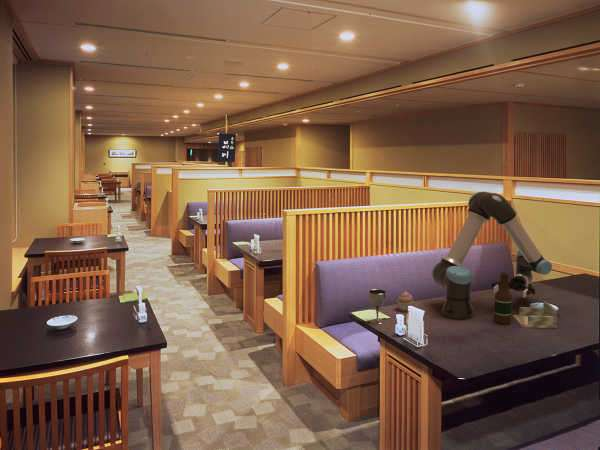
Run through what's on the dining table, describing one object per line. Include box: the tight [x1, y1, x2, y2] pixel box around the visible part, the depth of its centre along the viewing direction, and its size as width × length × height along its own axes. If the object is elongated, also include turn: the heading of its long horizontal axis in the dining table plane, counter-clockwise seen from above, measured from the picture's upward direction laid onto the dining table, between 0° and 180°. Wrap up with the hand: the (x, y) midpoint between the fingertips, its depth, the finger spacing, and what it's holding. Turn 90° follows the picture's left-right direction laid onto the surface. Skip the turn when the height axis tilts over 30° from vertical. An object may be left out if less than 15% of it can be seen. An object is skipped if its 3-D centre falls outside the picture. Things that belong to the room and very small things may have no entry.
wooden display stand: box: [512, 301, 558, 329], centre depth 223 cm, size 15×14×8 cm
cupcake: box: [396, 290, 416, 313], centre depth 245 cm, size 9×9×10 cm
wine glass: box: [368, 288, 387, 325], centre depth 229 cm, size 8×8×15 cm
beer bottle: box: [493, 271, 513, 325], centre depth 223 cm, size 8×8×24 cm
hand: (508, 292), depth 229 cm, fingers open, 13 cm apart
